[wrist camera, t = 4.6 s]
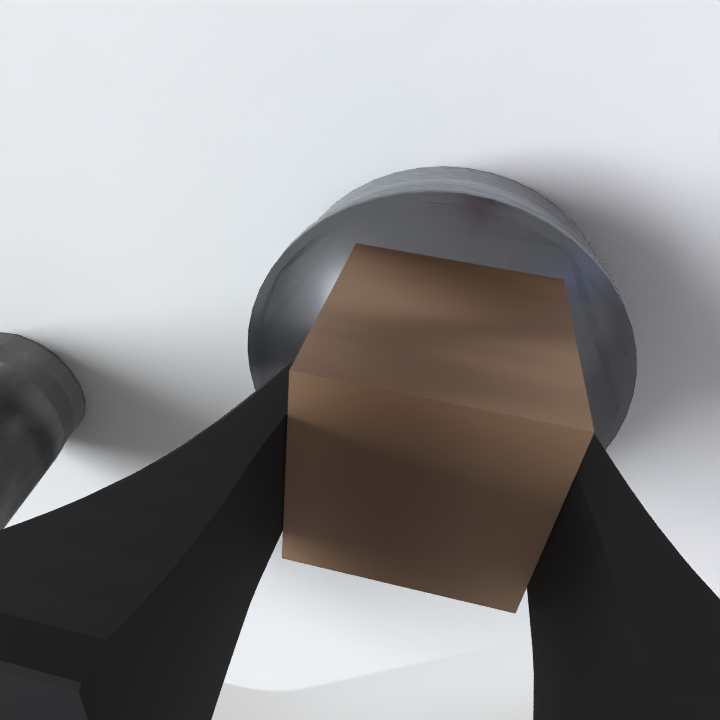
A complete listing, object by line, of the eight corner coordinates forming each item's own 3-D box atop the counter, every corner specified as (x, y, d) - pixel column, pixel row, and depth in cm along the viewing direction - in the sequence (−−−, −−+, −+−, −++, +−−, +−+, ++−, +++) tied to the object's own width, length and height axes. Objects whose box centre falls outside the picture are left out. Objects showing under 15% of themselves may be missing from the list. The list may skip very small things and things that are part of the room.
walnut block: (563, 279, 12) (594, 431, 8) (511, 437, 15) (515, 613, 11) (356, 243, 13) (289, 369, 9) (339, 402, 16) (281, 557, 11)
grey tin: (693, 244, 14) (733, 300, 12) (511, 485, 20) (513, 557, 17) (338, 93, 14) (305, 119, 12) (251, 379, 20) (216, 438, 17)
